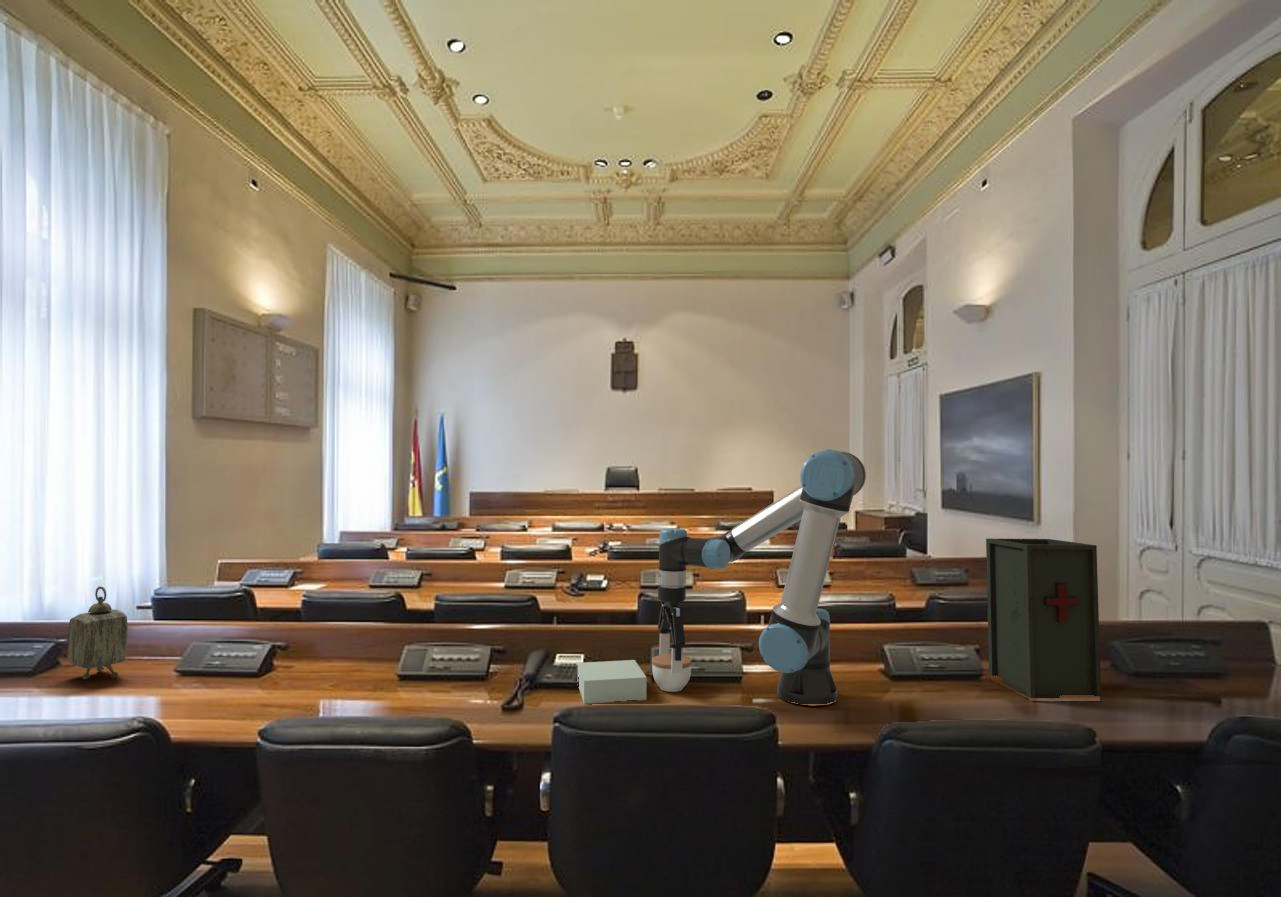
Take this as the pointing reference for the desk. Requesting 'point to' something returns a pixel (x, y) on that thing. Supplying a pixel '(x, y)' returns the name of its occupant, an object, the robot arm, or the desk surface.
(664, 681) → the lidded jar
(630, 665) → the sage block
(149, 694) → the desk surface
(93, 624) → the tabletop clock
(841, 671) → the desk surface
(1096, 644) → the first aid box
